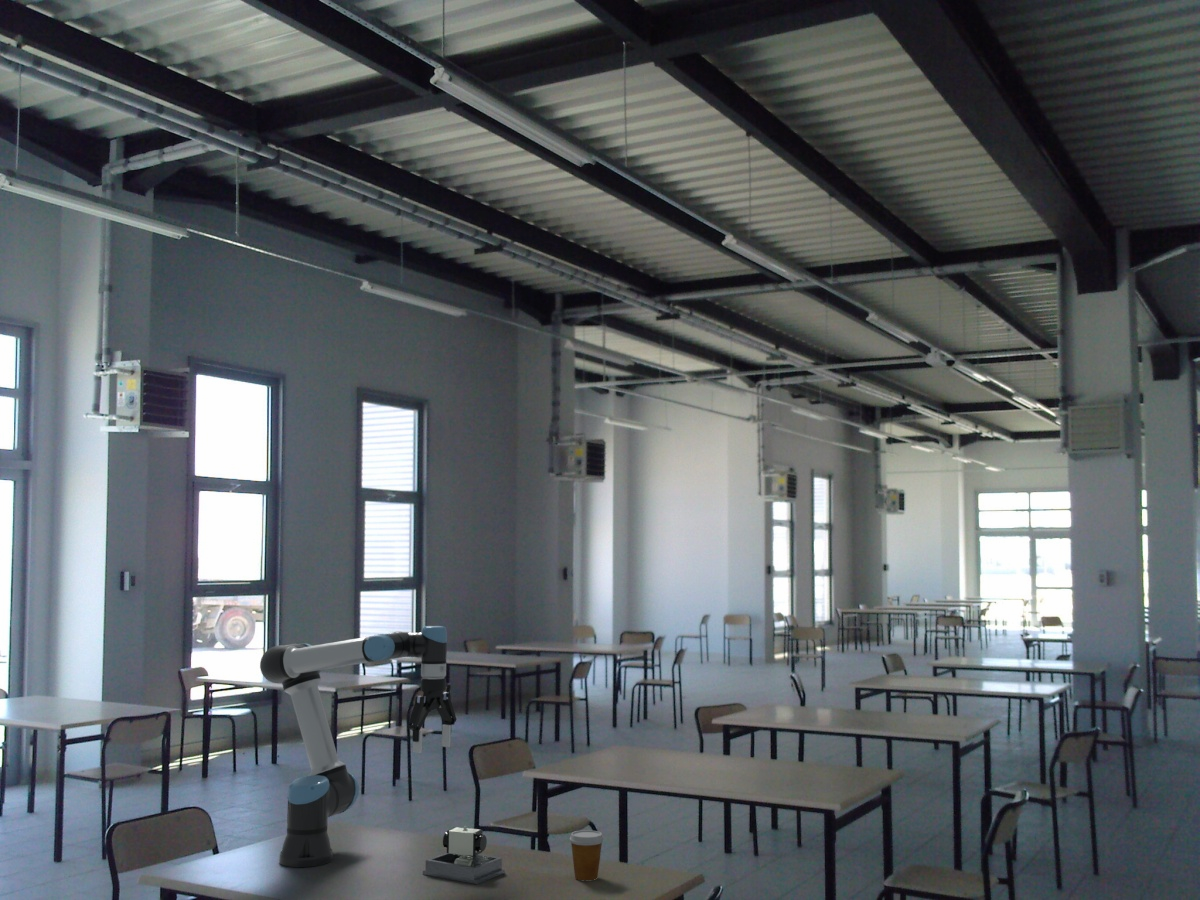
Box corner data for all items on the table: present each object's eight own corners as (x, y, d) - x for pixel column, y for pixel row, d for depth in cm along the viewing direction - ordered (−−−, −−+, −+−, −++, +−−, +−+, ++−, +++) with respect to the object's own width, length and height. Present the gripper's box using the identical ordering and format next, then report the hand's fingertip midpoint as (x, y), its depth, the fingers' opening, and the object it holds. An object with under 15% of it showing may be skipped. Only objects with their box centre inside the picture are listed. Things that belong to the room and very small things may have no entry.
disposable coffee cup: (596, 884, 292) (596, 839, 294) (564, 881, 295) (564, 836, 297) (608, 875, 301) (608, 831, 302) (576, 872, 304) (576, 828, 306)
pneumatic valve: (479, 874, 298) (480, 829, 299) (441, 870, 302) (442, 826, 303) (487, 869, 303) (488, 825, 304) (450, 865, 307) (451, 822, 308)
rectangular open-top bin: (422, 874, 301) (422, 859, 302) (451, 863, 312) (451, 849, 313) (477, 884, 292) (477, 869, 292) (504, 873, 303) (504, 858, 303)
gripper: (416, 681, 311) (414, 756, 308) (468, 675, 332) (467, 745, 330) (396, 680, 315) (394, 754, 312) (449, 674, 336) (447, 743, 333)
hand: (431, 749), depth 321 cm, fingers open, 13 cm apart
